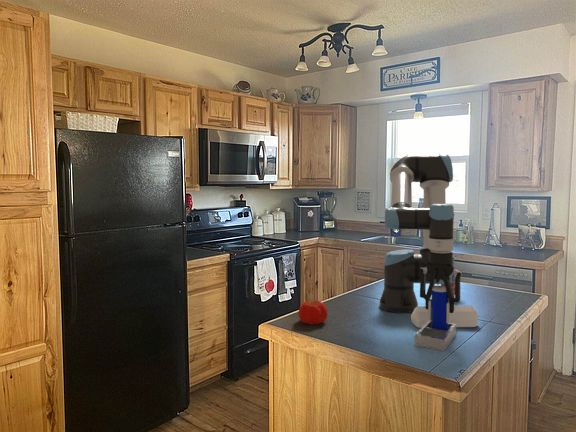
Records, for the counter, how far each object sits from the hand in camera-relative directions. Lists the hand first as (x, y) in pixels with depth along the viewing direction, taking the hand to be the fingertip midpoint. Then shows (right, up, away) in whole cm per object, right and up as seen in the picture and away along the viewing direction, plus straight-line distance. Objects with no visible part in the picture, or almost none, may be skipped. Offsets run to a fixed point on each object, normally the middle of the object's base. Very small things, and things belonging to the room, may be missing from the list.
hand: (439, 320), depth 147 cm
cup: (+21, -1, +49) cm, 53 cm away
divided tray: (-2, -6, -3) cm, 7 cm away
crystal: (+6, -5, +11) cm, 14 cm away
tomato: (-41, -5, +16) cm, 44 cm away
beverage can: (0, -4, 0) cm, 4 cm away
